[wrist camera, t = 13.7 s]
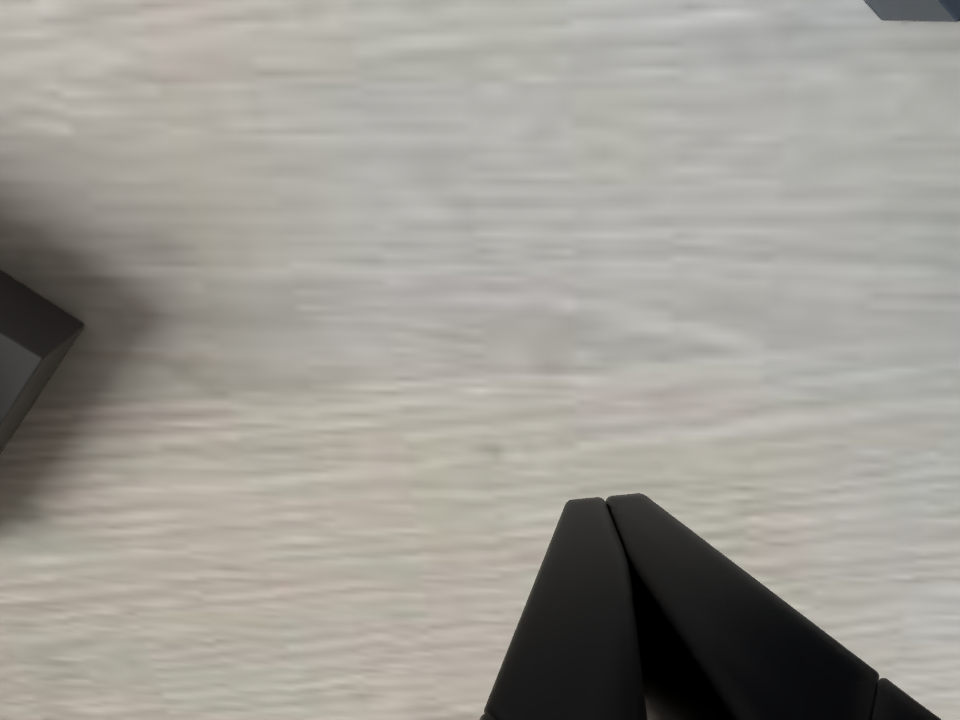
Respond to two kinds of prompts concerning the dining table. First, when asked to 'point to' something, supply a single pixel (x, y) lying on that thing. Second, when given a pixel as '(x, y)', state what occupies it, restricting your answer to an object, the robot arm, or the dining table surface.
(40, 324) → the switch box
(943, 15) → the console
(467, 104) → the dining table surface
